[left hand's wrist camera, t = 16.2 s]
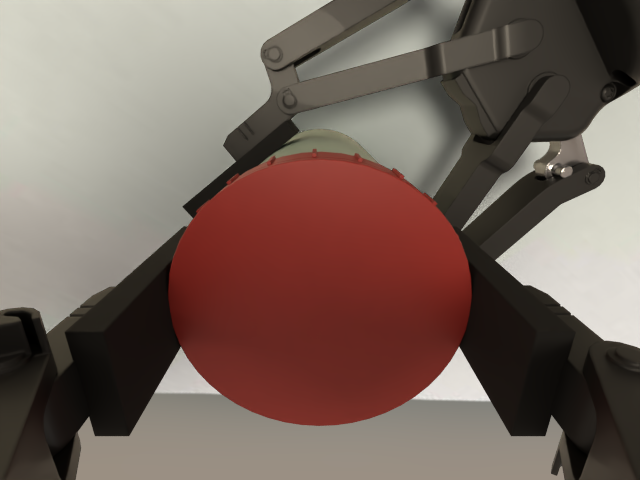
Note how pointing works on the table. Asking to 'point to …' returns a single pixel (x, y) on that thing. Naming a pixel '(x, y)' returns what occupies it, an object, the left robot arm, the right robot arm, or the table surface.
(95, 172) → the table surface
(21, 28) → the table surface
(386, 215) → the lid
